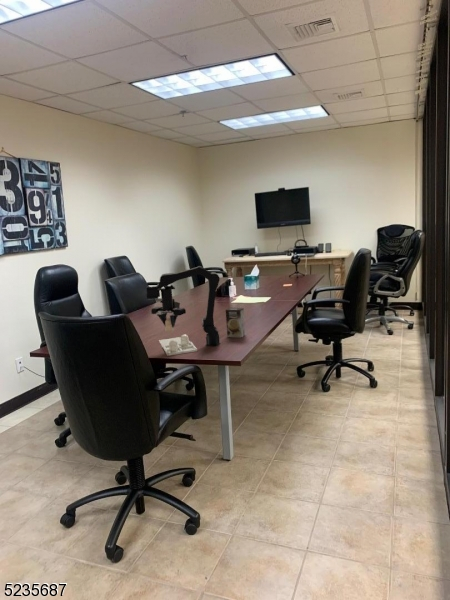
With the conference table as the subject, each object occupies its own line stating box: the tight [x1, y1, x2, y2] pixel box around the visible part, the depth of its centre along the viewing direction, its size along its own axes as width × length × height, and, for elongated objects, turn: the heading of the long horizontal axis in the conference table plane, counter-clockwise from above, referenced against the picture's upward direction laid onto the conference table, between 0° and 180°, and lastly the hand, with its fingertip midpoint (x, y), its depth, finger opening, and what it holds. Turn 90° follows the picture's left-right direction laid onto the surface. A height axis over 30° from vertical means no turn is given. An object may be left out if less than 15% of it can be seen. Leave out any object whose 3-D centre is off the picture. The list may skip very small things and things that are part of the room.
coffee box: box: [225, 307, 246, 338], centre depth 256 cm, size 9×6×16 cm
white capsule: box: [169, 340, 178, 353], centre depth 233 cm, size 4×4×7 cm
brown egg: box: [164, 317, 175, 333], centre depth 238 cm, size 4×4×7 cm
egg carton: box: [158, 336, 198, 357], centre depth 245 cm, size 32×16×2 cm, turn 16°
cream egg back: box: [180, 334, 190, 347], centre depth 242 cm, size 4×4×7 cm
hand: (169, 326), depth 238 cm, fingers closed on brown egg, 4 cm apart
